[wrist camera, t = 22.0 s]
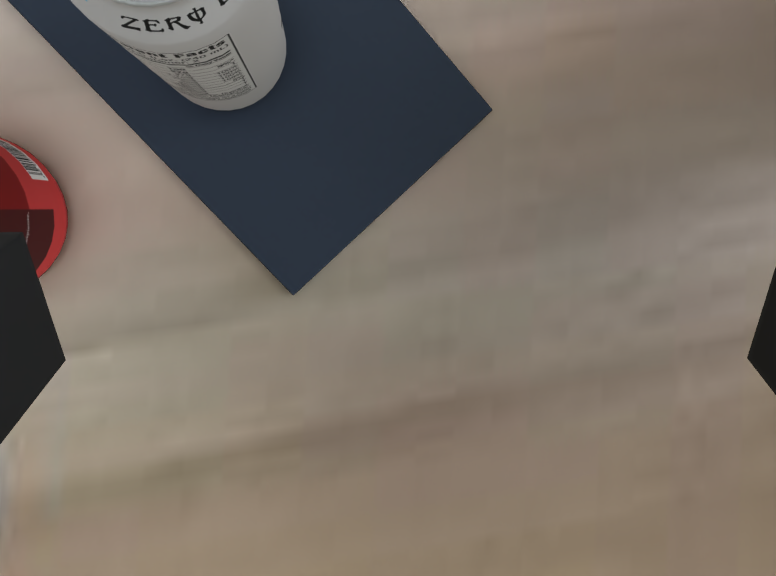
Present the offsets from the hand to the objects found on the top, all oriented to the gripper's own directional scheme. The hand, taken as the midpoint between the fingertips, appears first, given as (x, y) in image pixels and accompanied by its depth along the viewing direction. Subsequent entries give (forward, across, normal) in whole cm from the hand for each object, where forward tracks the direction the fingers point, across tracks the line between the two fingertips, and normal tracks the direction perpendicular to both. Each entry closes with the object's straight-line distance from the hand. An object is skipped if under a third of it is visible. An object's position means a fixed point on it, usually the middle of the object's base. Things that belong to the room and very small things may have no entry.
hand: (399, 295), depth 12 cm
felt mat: (+23, -7, 0) cm, 24 cm away
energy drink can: (+23, -9, 0) cm, 25 cm away
